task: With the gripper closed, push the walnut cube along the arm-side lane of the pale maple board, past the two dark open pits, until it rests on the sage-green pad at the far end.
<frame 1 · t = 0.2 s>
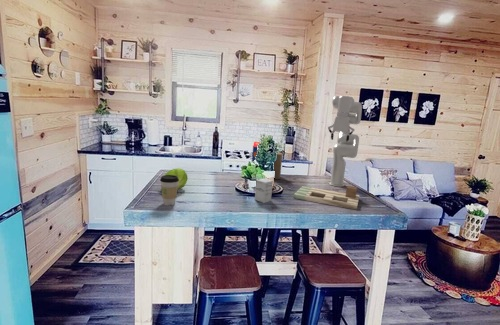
hand: (339, 140, 203), 36 cm above the table, tool pointing down, fingers open, 9 cm apart
lettuce: (175, 189, 191), on the table
coffee cup: (169, 203, 165), on the table
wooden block: (273, 177, 241), on the table
supplement box: (262, 200, 182), on the table
walnut cube: (350, 196, 195), point 2 cm above the table, touching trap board
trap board: (326, 198, 195), on the table
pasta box: (256, 181, 225), on the table
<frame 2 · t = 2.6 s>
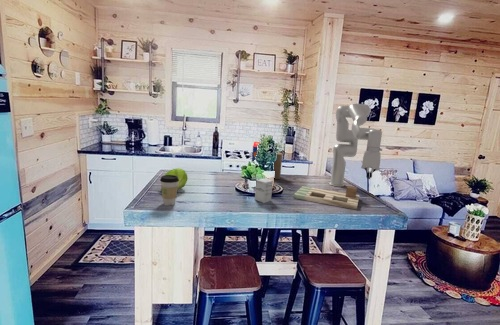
hand: (368, 178, 188), 16 cm above the table, tool pointing down, fingers closed
nothing on the table moved.
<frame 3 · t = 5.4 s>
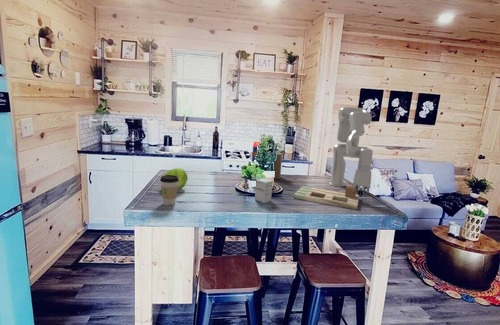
hand: (359, 196, 192), 4 cm above the table, tool pointing down, fingers closed
walnut cube: (350, 196, 195), point 3 cm above the table, touching gripper
everything else where it was.
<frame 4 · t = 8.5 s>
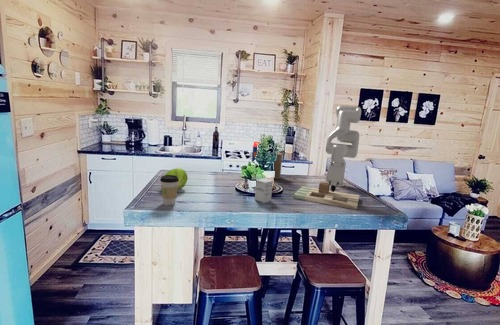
hand: (332, 191, 198), 4 cm above the table, tool pointing down, fingers closed
walnut cube: (323, 192, 200), point 3 cm above the table, touching gripper
everything else where it was.
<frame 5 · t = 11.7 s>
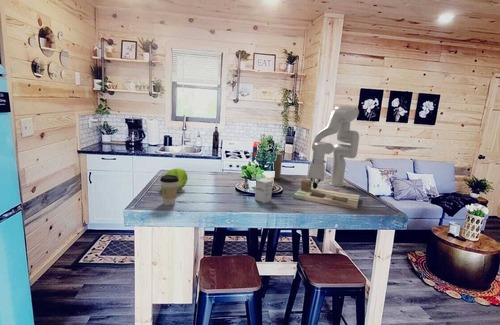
hand: (314, 188, 203), 4 cm above the table, tool pointing down, fingers closed
walnut cube: (305, 189, 204), point 2 cm above the table, touching gripper, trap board
everything else where it was.
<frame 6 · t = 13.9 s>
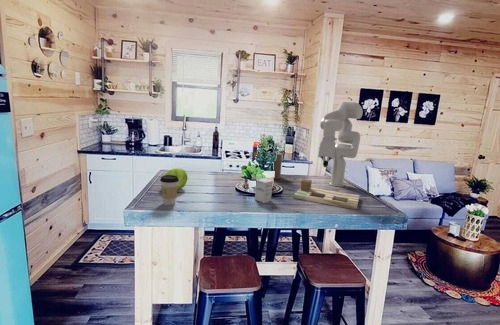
hand: (325, 166, 199), 19 cm above the table, tool pointing down, fingers closed
walnut cube: (305, 189, 204), point 2 cm above the table, touching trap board
everything else where it was.
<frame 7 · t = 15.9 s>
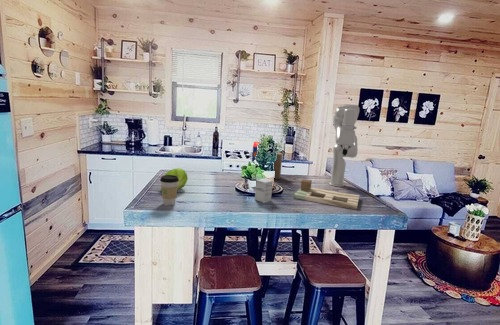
hand: (344, 155, 203), 27 cm above the table, tool pointing down, fingers closed
nothing on the table moved.
at the end: walnut cube inside the target area on the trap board (1.6 cm from its centre), point 2.5 cm above the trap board's base; walnut cube tilted 0° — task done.
